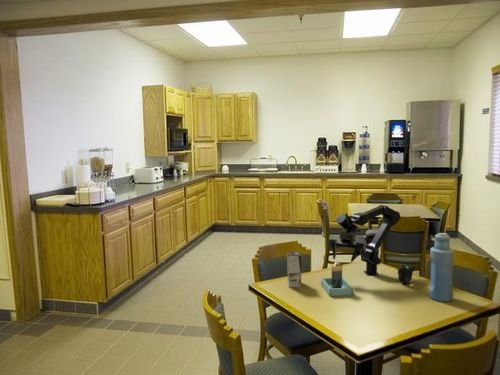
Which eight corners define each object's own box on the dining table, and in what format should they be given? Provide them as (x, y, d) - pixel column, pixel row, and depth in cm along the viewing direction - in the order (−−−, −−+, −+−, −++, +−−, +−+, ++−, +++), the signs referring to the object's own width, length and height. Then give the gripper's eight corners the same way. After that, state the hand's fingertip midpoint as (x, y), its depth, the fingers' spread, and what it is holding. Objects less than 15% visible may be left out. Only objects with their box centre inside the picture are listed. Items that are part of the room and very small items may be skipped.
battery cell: (329, 287, 196) (330, 261, 194) (340, 286, 196) (340, 261, 195) (332, 290, 191) (333, 264, 189) (343, 290, 191) (343, 264, 190)
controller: (395, 284, 200) (396, 265, 199) (407, 279, 208) (408, 260, 207) (404, 286, 197) (404, 266, 196) (415, 280, 205) (416, 262, 204)
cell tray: (321, 284, 201) (321, 278, 201) (342, 284, 202) (342, 277, 201) (329, 296, 185) (329, 289, 185) (352, 295, 186) (352, 288, 185)
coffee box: (301, 287, 198) (301, 255, 196) (288, 287, 198) (288, 255, 196) (299, 281, 207) (299, 251, 205) (287, 281, 207) (287, 251, 205)
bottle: (455, 303, 176) (458, 236, 173) (431, 301, 178) (433, 235, 175) (449, 295, 185) (451, 231, 182) (426, 293, 187) (428, 231, 184)
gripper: (329, 223, 207) (320, 249, 199) (364, 227, 197) (357, 254, 188) (334, 235, 214) (326, 260, 206) (369, 239, 204) (362, 266, 196)
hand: (342, 260), depth 199 cm, fingers open, 9 cm apart
